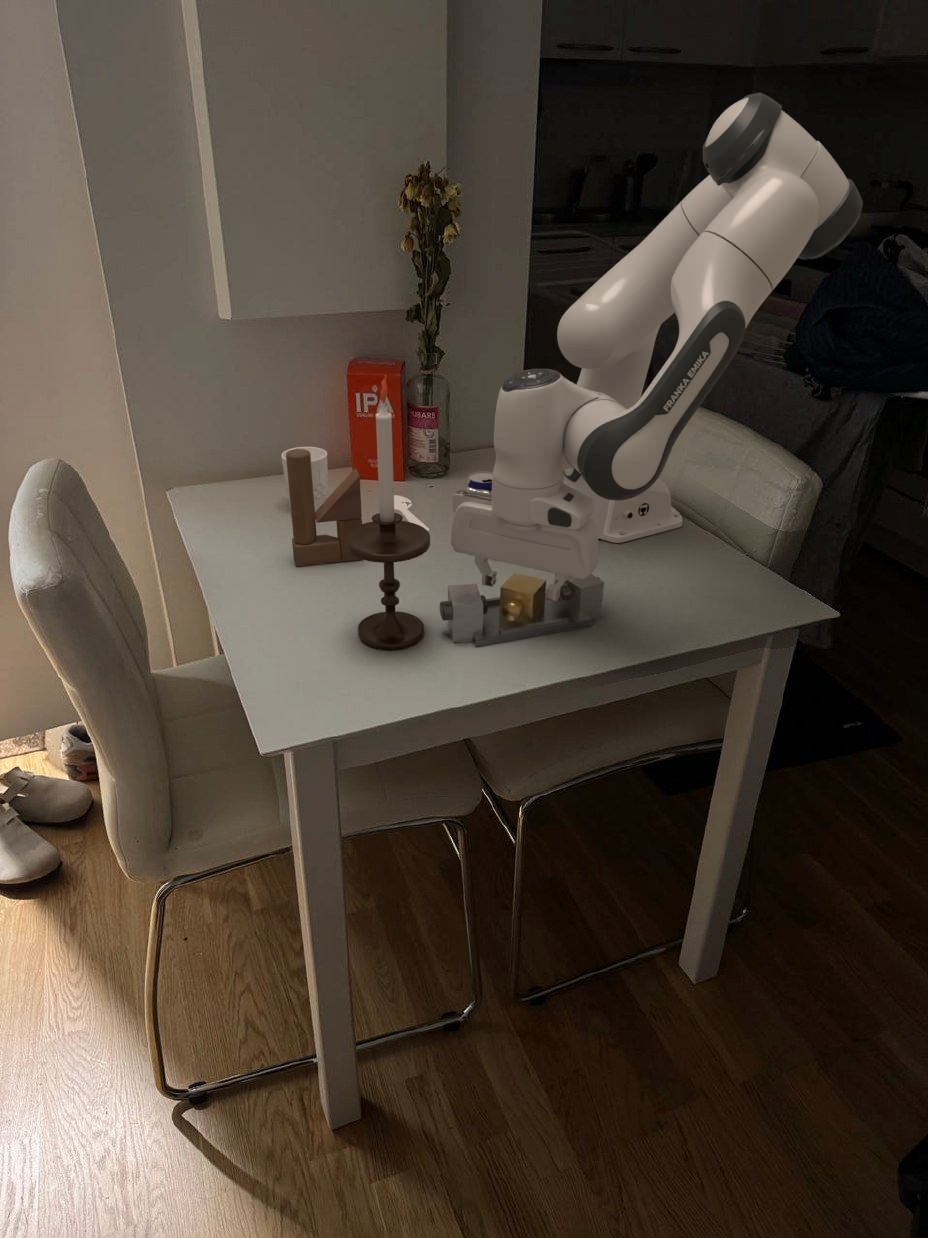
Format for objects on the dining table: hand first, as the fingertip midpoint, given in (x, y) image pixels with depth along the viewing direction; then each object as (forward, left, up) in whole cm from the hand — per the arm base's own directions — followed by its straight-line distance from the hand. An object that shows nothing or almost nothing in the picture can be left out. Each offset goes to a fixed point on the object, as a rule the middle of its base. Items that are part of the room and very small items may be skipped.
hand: (520, 591), depth 122 cm
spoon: (+4, -42, -5) cm, 42 cm away
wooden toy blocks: (+21, -28, -5) cm, 35 cm away
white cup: (+20, -50, -5) cm, 54 cm away
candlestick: (+18, -2, -5) cm, 19 cm away
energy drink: (-4, -25, -5) cm, 25 cm away
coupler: (0, +1, -3) cm, 3 cm away
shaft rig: (0, 0, -5) cm, 5 cm away
